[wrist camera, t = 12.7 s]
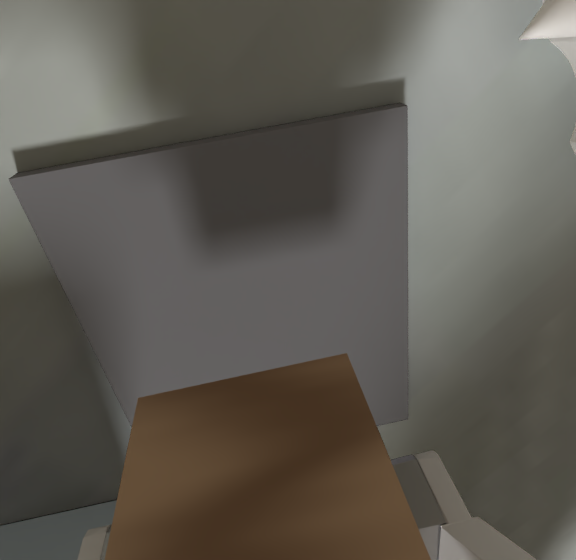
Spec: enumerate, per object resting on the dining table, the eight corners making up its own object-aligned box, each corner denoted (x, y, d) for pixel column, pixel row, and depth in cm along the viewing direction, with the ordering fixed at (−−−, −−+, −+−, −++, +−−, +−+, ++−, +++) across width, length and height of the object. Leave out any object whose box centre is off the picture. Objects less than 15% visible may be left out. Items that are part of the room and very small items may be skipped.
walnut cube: (346, 352, 10) (446, 598, 6) (359, 478, 13) (435, 714, 8) (137, 397, 10) (78, 689, 6) (193, 517, 13) (182, 779, 8)
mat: (400, 102, 14) (407, 105, 13) (403, 409, 21) (408, 419, 20) (16, 173, 13) (8, 179, 12) (156, 463, 20) (155, 474, 20)
